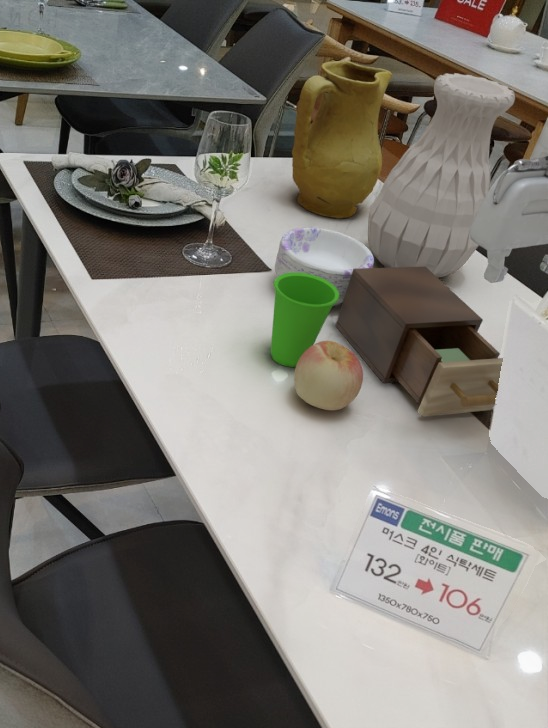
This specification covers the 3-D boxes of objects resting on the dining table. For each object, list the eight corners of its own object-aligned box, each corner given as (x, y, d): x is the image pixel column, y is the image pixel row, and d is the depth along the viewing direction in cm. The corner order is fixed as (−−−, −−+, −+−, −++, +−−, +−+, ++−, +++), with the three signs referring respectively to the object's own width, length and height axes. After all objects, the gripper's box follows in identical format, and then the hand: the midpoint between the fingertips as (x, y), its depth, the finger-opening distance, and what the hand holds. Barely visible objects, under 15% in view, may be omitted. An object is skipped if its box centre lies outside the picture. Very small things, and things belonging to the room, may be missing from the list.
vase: (404, 301, 129) (477, 108, 108) (333, 247, 141) (386, 65, 120) (487, 285, 137) (569, 104, 116) (413, 236, 149) (475, 64, 128)
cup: (244, 351, 111) (260, 281, 103) (285, 334, 116) (303, 266, 108) (290, 382, 107) (310, 311, 99) (330, 363, 112) (352, 294, 104)
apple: (303, 376, 108) (318, 326, 103) (361, 401, 106) (379, 351, 100) (277, 403, 103) (291, 352, 97) (337, 430, 100) (356, 379, 94)
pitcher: (376, 227, 149) (413, 83, 132) (280, 217, 149) (306, 73, 132) (365, 196, 162) (398, 61, 145) (277, 187, 162) (300, 52, 145)
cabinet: (456, 377, 113) (483, 319, 107) (382, 383, 110) (405, 323, 103) (404, 322, 124) (425, 266, 117) (335, 325, 120) (353, 268, 113)
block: (446, 375, 109) (458, 348, 106) (463, 393, 106) (476, 366, 103) (419, 377, 108) (431, 349, 105) (436, 396, 105) (448, 368, 102)
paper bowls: (356, 325, 121) (371, 279, 115) (262, 302, 122) (273, 255, 117) (364, 284, 132) (378, 239, 126) (278, 263, 133) (288, 218, 128)
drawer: (509, 429, 104) (536, 380, 98) (438, 436, 100) (461, 387, 95) (436, 352, 116) (456, 306, 111) (371, 356, 113) (388, 309, 107)
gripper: (531, 172, 76) (475, 299, 85) (661, 161, 84) (597, 278, 93) (486, 149, 80) (438, 272, 89) (615, 140, 88) (558, 255, 97)
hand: (520, 275), depth 91 cm, fingers open, 8 cm apart
